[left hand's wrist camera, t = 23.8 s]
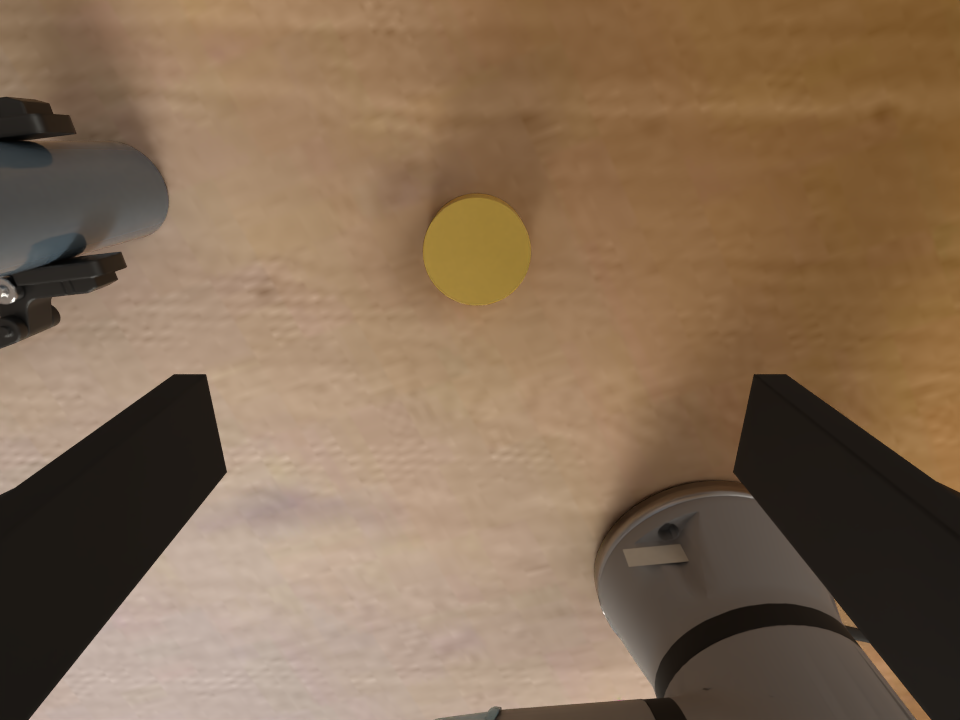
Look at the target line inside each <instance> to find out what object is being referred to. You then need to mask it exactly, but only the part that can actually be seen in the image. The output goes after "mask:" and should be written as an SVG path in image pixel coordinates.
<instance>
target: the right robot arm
mask: <svg viewBox="0 0 960 720" xmlns="http://www.w3.org/2000/svg"><path fill="white" fill-rule="evenodd" d="M72 134H76V131H75V128H74V126H73V123H72V120H71V118H70V115H58V114H53V112H52V109H51V107H50V104H49V103H46V102H42V101H39V100H34V99H24V98H13V97H2V98H0V141H24V140H32V139H40V138H48V137H56V136H64V135H72ZM126 267H127V266H126V263H125V260H124V258H123V255H122V253H121V252H114V253H105V254H97V255H88V256H79V257H72V258H68V259H65V260H61V261H58V262H54V263H51V264H47V265H44V266H40V267H37V268H33V269H30V270H26V271H23V272H19V273H16V274H12V275H9V276H5V277H2V278H0V348H3V347H6V346H9V345H11V344H14V343H16V342H19V341H21V340H23V339H26V338H28V337H30V336H32V335H35V334H37V333H39V332H42V331H44V330H46V329H49V328H51V327H53V326H55V325H57V324H58V323H59V322H60V314H59V312H58V310H57V309H56V308H55V307H54V306H52V305H51V298H52V297H56V296H65V295H74V294H83V293H89V292H92V291H95V290H97V289H100V288H102V287H105V286H107V285H110V284H111V283H113V282H115V281H116V280H118V278H117V276H116V273H115V271H118V270H121V269H123V268H126Z"/></svg>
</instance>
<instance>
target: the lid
mask: <svg viewBox="0 0 960 720" xmlns="http://www.w3.org/2000/svg"><path fill="white" fill-rule="evenodd" d="M530 258H531V245H530V239H529V235H528V233H527V230H526V228H525V226H524V224H523V222H522V220H521V219H520V217H519V215H518V214H517V213H516V212H515V210H514V209H513V208H512V207H511V206H510V205H508V204H507V203H506V202H504V201H502V200H501V199H499V198H496V197H494V196H491V195H487V194H479V193H478V194H467V195H463V196H460V197H457V198H455V199H453V200H451V201H450V202H448V203H447V204H446V205H444V206H443V207H442V208H441V209H440V210H439V211H438V213H437V214H436V215H435V217H434V218H433V220H432V222H431V224H430V225H429V228H428V230H427V232H426V235H425V238H424V243H423V259H424V264H425V268H426V271H427V273H428V275H429V277H430V279H431V281H432V282H433V284H434V285H435V286H436V287H437V288H438V289H439V290H440V291H441V292H442V293H443V294H444V295H446V296H447V297H449V298H450V299H452V300H454V301H457V302H459V303H462V304H467V305H474V306H478V305H488V304H492V303H495V302H497V301H500V300H502V299H504V298H505V297H507V296H508V295H510V294H511V293H512V292H513V291H514V290H515V289H516V288H517V287H518V286H519V285H520V283H521V282H522V281H523V279H524V277H525V275H526V273H527V270H528V267H529V264H530Z"/></svg>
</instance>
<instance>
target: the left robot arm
mask: <svg viewBox="0 0 960 720" xmlns="http://www.w3.org/2000/svg"><path fill="white" fill-rule="evenodd" d="M226 473H227V470H226V466H225V461H224V456H223V452H222V447H221V442H220V438H219V433H218V428H217V424H216V419H215V414H214V409H213V405H212V400H211V395H210V391H209V386H208V381H207V377H206V374H174V375H172V376H171V377H170V378H168V379H167V380H165V381H164V382H163V383H161V384H160V385H158V386H157V387H156V388H154V389H153V390H151V391H150V392H149V393H147V394H146V395H144V396H143V397H142V398H140V399H139V400H137V401H136V402H135V403H133V404H132V405H130V406H129V407H128V408H126V409H125V410H123V411H122V412H121V413H119V414H118V415H116V416H115V417H114V418H112V419H111V420H109V421H108V422H107V423H105V424H104V425H102V426H101V427H100V428H98V429H97V430H95V431H94V432H93V433H91V434H90V435H88V436H87V437H86V438H84V439H83V440H81V441H80V442H79V443H77V444H76V445H74V446H73V447H72V448H70V449H69V450H67V451H66V452H65V453H63V454H62V455H60V456H59V457H57V458H56V459H55V460H53V461H52V462H50V463H49V464H48V465H46V466H45V467H43V468H42V469H41V470H39V471H38V472H36V473H35V474H34V475H32V476H31V477H29V478H28V479H27V480H25V481H24V482H22V483H21V484H20V485H18V486H17V487H15V488H14V489H12V490H9V491H7V492H5V493H3V494H1V495H0V720H29V719H30V717H31V716H32V715H33V714H34V712H35V711H36V710H37V709H38V707H39V706H40V705H41V704H42V702H43V701H44V700H45V699H46V697H47V696H48V695H49V694H50V692H51V691H52V690H53V689H54V687H55V686H56V685H57V684H58V682H59V681H60V680H61V679H62V677H63V676H64V675H65V674H66V672H67V671H68V670H69V669H70V667H71V666H72V665H73V664H74V662H75V661H76V660H77V659H78V657H79V656H80V655H81V654H82V652H83V651H84V650H85V649H86V647H87V646H88V645H89V644H90V642H91V641H92V640H93V639H94V637H95V636H96V635H97V634H98V632H99V631H100V630H101V629H102V627H103V626H104V625H105V624H106V622H107V621H108V620H109V619H110V617H111V616H112V615H113V614H114V612H115V611H116V610H117V609H118V607H119V606H120V605H121V604H122V602H123V601H124V600H125V599H126V597H127V596H128V595H129V594H130V592H131V591H132V590H133V589H134V587H135V586H136V585H137V584H138V582H139V581H140V580H141V579H142V577H143V576H144V575H145V574H146V572H147V571H148V570H149V569H150V567H151V566H152V565H153V564H154V562H155V561H156V560H157V559H158V557H159V556H160V555H161V554H162V552H163V551H164V550H165V549H166V547H167V546H168V545H169V544H170V543H171V541H172V540H173V539H174V538H175V536H176V535H177V534H178V533H179V531H180V530H181V529H182V528H183V526H184V525H185V524H186V523H187V521H188V520H189V519H190V518H191V516H192V515H193V514H194V513H195V511H196V510H197V509H198V508H199V506H200V505H201V504H202V503H203V501H204V500H205V499H206V498H207V496H208V495H209V494H210V493H211V491H212V490H213V489H214V488H215V486H216V485H217V484H218V483H219V481H220V480H221V479H222V478H223V476H224V475H225V474H226ZM733 473H734V474H735V475H736V476H737V478H738V479H739V480H740V481H741V483H738V482H730V481H702V482H695V483H689V484H684V485H680V486H677V487H673V488H670V489H667V490H665V491H662V492H660V493H658V494H655V495H653V496H651V497H649V498H647V499H646V500H644V501H642V502H641V503H639V504H638V505H636V506H635V507H633V508H632V509H631V510H629V511H628V512H627V513H626V514H624V515H623V516H622V517H621V518H620V519H619V520H618V521H617V522H616V523H615V525H614V526H613V527H612V528H611V529H610V531H609V532H608V534H607V535H606V536H605V538H604V540H603V542H602V544H601V546H600V548H599V551H598V553H597V557H596V560H595V567H594V580H595V586H596V590H597V594H598V597H599V601H600V605H601V608H602V611H603V613H604V615H605V617H606V619H607V621H608V623H609V625H610V626H611V628H612V629H613V631H614V632H615V633H616V634H617V635H618V637H619V638H620V639H621V640H622V642H623V644H624V645H625V647H626V648H627V650H628V651H629V653H630V654H631V656H632V657H633V659H634V660H635V662H636V663H637V665H638V666H639V668H640V669H641V671H642V672H643V674H644V675H645V676H646V678H647V679H648V681H649V682H650V684H651V685H652V687H653V689H654V691H655V694H656V697H657V698H655V699H636V700H623V701H610V702H597V703H584V704H571V705H558V706H545V707H532V708H519V709H506V710H501V707H493V708H491V709H490V710H489V711H488V712H483V713H475V714H468V715H460V716H453V717H445V718H439V719H435V720H916V719H915V717H914V716H913V715H912V714H911V712H910V711H909V710H908V708H907V707H906V706H905V704H904V703H903V702H902V700H901V699H900V698H899V697H898V695H897V694H896V693H895V691H894V690H893V689H892V687H891V686H890V685H889V684H888V682H887V681H886V680H885V678H884V677H883V676H882V674H881V673H880V672H879V670H878V669H877V668H876V667H875V665H874V664H873V663H872V661H871V660H870V659H869V657H868V656H867V655H866V654H865V652H864V651H863V650H862V649H861V647H860V646H859V645H858V643H857V642H856V641H855V640H858V641H862V642H867V643H870V644H871V645H872V646H873V647H874V649H875V650H876V651H877V652H878V654H879V655H880V656H881V657H882V659H883V660H884V661H885V662H886V664H887V665H888V666H889V667H890V669H891V670H892V671H893V672H894V674H895V675H896V676H897V677H898V679H899V680H900V681H901V682H902V684H903V685H904V686H905V687H906V689H907V690H908V691H909V692H910V694H911V695H912V696H913V697H914V699H915V700H916V701H917V702H918V704H919V705H920V706H921V707H922V709H923V710H924V711H925V712H926V714H927V715H928V716H929V717H930V719H931V720H960V493H959V492H957V491H955V490H953V489H951V488H949V487H947V486H945V485H943V484H941V483H939V482H936V481H935V480H933V479H932V478H931V477H929V476H928V475H926V474H925V473H924V472H922V471H921V470H919V469H918V468H917V467H915V466H914V465H912V464H911V463H910V462H908V461H907V460H905V459H904V458H903V457H901V456H900V455H898V454H897V453H895V452H894V451H893V450H891V449H890V448H888V447H887V446H886V445H884V444H883V443H881V442H880V441H879V440H877V439H876V438H874V437H873V436H872V435H870V434H869V433H867V432H866V431H865V430H863V429H862V428H860V427H859V426H858V425H856V424H855V423H853V422H852V421H851V420H849V419H848V418H846V417H845V416H844V415H842V414H841V413H839V412H838V411H837V410H835V409H834V408H832V407H831V406H830V405H828V404H827V403H825V402H824V401H823V400H821V399H820V398H818V397H817V396H816V395H814V394H813V393H811V392H810V391H809V390H807V389H806V388H804V387H803V386H802V385H800V384H799V383H797V382H796V381H795V380H793V379H792V378H790V377H789V376H788V375H786V374H754V377H753V381H752V386H751V391H750V395H749V400H748V405H747V409H746V414H745V419H744V424H743V428H742V433H741V438H740V442H739V447H738V452H737V456H736V461H735V466H734V470H733ZM833 597H834V598H833ZM834 599H835V600H836V601H837V602H838V604H839V605H840V606H841V607H842V609H843V610H844V611H845V612H846V614H847V615H848V616H849V617H850V619H851V620H852V621H853V622H854V624H855V625H856V626H857V627H858V628H854V627H849V626H845V625H844V624H843V623H842V621H841V618H840V616H839V613H838V610H837V607H836V604H835V601H834Z"/></svg>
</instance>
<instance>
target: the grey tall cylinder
mask: <svg viewBox="0 0 960 720" xmlns="http://www.w3.org/2000/svg"><path fill="white" fill-rule="evenodd" d="M168 205H169V200H168V192H167V188H166V185H165V182H164V180H163V178H162V176H161V174H160V172H159V171H158V169H157V168H156V167H155V165H154V164H153V163H152V162H151V161H150V160H149V159H148V158H147V157H146V156H145V155H143V154H142V153H141V152H139V151H138V150H136V149H135V148H133V147H131V146H129V145H126V144H123V143H120V142H115V141H0V278H2V277H5V276H9V275H12V274H16V273H19V272H23V271H26V270H30V269H33V268H37V267H40V266H44V265H47V264H51V263H54V262H58V261H61V260H65V259H68V258H72V257H75V256H79V255H82V254H86V253H89V252H93V251H96V250H100V249H103V248H107V247H110V246H114V245H117V244H121V243H124V242H128V241H131V240H135V239H138V238H142V237H145V236H148V235H150V234H152V233H153V232H155V231H156V230H157V229H158V228H159V227H160V226H161V225H162V223H163V222H164V220H165V218H166V215H167V212H168Z"/></svg>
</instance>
